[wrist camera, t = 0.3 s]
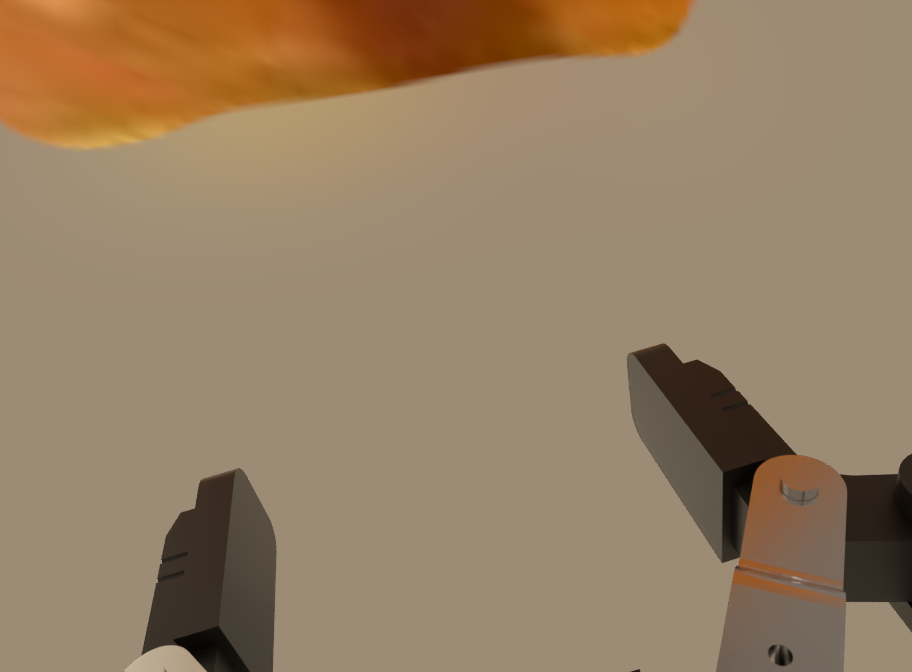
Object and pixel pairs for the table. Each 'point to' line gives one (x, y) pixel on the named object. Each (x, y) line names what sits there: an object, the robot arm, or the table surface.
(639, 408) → the robot arm
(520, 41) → the table surface
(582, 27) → the table surface
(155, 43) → the table surface
